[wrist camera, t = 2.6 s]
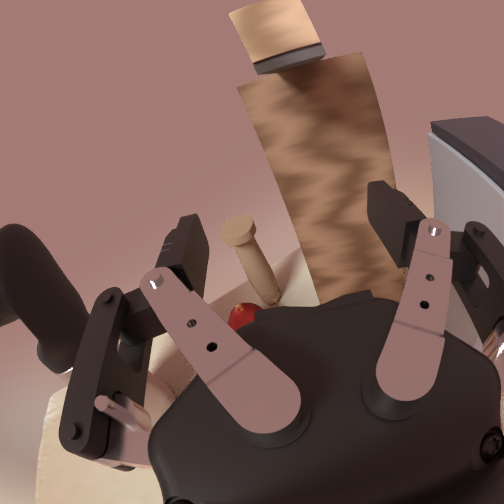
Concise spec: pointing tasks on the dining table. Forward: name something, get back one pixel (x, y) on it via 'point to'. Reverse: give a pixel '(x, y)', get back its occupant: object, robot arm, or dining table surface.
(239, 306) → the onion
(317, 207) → the shelf block
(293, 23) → the stamp
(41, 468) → the dining table surface
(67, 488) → the dining table surface
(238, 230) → the handle
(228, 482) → the robot arm
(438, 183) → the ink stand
